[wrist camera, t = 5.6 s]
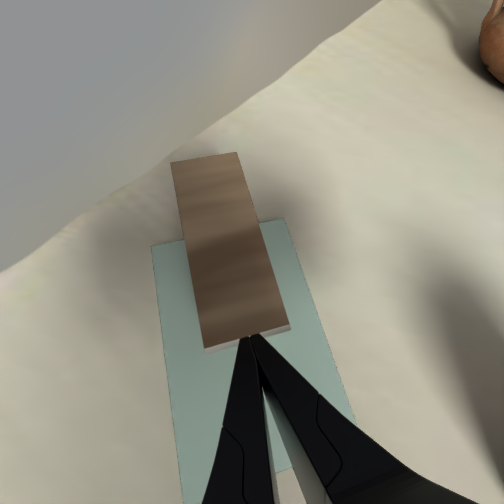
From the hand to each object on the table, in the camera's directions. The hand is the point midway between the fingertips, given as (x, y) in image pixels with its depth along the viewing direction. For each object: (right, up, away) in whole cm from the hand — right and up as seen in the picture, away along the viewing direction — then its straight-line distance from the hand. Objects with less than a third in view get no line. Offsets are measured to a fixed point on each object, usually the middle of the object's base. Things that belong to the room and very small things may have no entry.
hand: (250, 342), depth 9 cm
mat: (0, -2, +7) cm, 7 cm away
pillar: (0, -2, +4) cm, 4 cm away
